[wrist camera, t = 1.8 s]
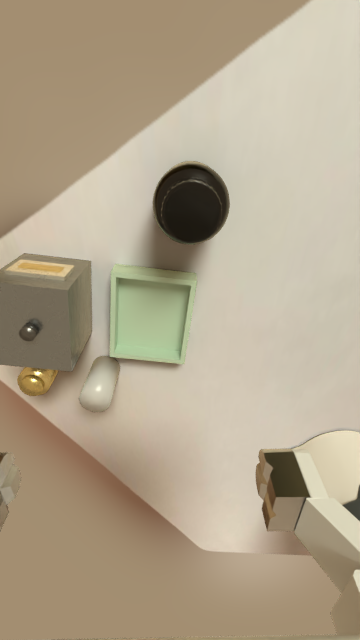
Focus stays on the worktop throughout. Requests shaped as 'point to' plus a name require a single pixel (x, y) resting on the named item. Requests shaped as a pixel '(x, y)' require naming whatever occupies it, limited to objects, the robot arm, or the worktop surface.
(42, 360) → the box
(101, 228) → the worktop surface
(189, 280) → the tray
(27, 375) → the brass fitting
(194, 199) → the supplement bottle
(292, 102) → the worktop surface
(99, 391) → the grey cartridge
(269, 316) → the worktop surface
